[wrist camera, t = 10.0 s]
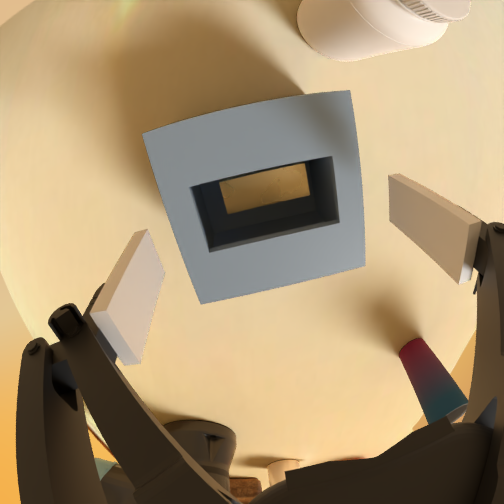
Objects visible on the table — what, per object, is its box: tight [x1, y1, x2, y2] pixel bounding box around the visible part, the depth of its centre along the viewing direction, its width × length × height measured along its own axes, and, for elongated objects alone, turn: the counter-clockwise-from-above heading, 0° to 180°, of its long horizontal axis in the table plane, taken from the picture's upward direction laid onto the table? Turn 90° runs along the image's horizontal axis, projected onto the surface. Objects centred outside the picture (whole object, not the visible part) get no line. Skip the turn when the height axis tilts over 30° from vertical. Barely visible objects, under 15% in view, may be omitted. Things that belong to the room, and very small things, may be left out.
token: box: [219, 161, 310, 214], centre depth 23 cm, size 6×2×6 cm, turn 103°
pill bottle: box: [297, 0, 471, 61], centre depth 13 cm, size 8×8×15 cm
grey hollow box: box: [142, 90, 365, 304], centre depth 22 cm, size 12×12×10 cm
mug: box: [267, 460, 300, 487], centre depth 57 cm, size 12×10×9 cm
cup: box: [399, 338, 468, 424], centre depth 35 cm, size 7×7×15 cm
